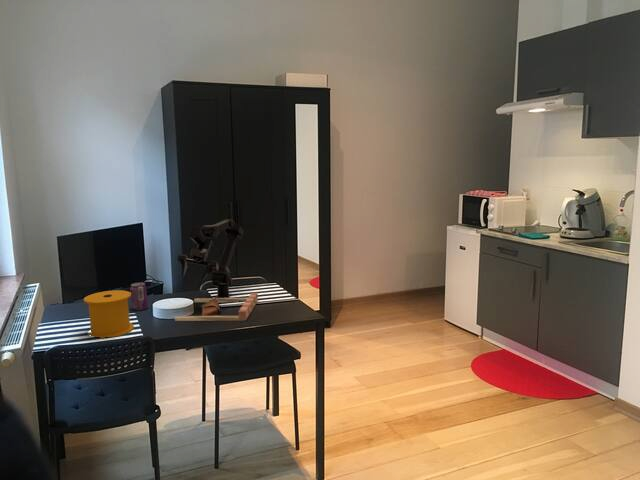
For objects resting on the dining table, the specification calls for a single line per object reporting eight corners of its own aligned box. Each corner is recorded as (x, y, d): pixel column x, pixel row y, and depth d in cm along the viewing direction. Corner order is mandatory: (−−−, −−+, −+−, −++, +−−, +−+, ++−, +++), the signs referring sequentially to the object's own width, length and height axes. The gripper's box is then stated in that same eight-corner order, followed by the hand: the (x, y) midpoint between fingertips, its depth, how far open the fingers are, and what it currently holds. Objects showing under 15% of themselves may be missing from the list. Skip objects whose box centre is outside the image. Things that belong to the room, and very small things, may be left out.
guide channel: (195, 301, 256) (194, 293, 255) (257, 300, 254) (257, 292, 253) (175, 320, 226) (174, 312, 225) (245, 320, 224) (245, 311, 223)
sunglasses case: (199, 305, 247) (206, 293, 247) (212, 311, 250) (219, 299, 250) (201, 317, 230) (208, 303, 230) (216, 323, 232) (223, 310, 232)
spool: (87, 341, 204) (83, 304, 202) (87, 327, 220) (83, 293, 218) (135, 333, 211) (132, 298, 209) (132, 321, 227) (129, 287, 225)
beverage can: (150, 306, 248) (148, 282, 246) (144, 311, 241) (141, 286, 239) (136, 306, 249) (134, 282, 247) (129, 311, 242) (127, 286, 240)
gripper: (179, 237, 237) (168, 267, 230) (219, 245, 236) (208, 275, 228) (185, 248, 247) (174, 278, 239) (222, 256, 245) (213, 285, 238)
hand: (192, 279), depth 236 cm, fingers open, 9 cm apart
